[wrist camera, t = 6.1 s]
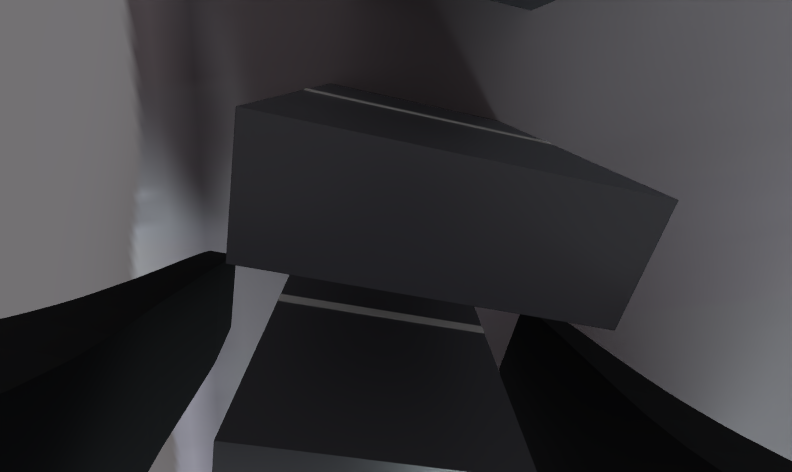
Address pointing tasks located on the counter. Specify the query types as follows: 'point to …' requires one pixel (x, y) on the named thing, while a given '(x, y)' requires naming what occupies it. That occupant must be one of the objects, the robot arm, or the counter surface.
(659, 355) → the counter surface
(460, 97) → the counter surface
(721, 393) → the counter surface
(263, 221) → the domino
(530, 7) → the domino
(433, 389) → the domino
